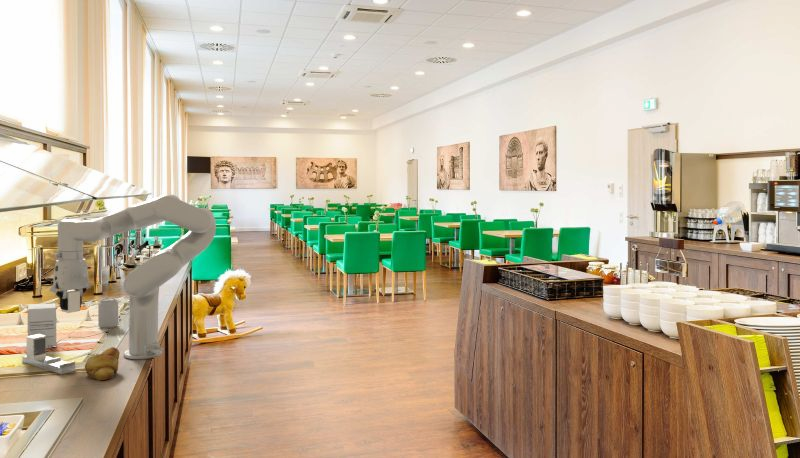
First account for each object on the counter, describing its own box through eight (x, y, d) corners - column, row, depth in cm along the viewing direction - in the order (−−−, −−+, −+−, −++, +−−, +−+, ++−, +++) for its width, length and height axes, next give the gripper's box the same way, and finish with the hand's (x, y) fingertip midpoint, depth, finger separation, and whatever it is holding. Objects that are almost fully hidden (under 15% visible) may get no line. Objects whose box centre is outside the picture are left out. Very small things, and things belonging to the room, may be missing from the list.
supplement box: (28, 344, 216) (27, 304, 215) (56, 341, 220) (56, 302, 219) (27, 350, 208) (26, 309, 207) (56, 347, 212) (56, 307, 211)
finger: (80, 311, 202) (79, 291, 201) (68, 313, 198) (68, 292, 198) (72, 309, 204) (72, 289, 204) (60, 311, 201) (60, 291, 200)
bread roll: (117, 381, 180) (117, 355, 179) (81, 384, 176) (81, 358, 176) (120, 368, 192) (120, 345, 191) (86, 371, 188) (86, 347, 188)
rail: (75, 370, 188) (75, 343, 187) (61, 374, 184) (61, 346, 184) (36, 358, 199) (36, 332, 198) (22, 362, 195) (22, 335, 194)
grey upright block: (94, 327, 242) (94, 299, 242) (109, 324, 249) (109, 296, 249) (107, 330, 240) (107, 301, 239) (122, 326, 247) (122, 298, 246)
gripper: (52, 259, 191) (52, 314, 192) (100, 254, 205) (100, 306, 206) (39, 257, 194) (39, 311, 196) (87, 252, 209) (87, 303, 210)
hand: (71, 307), depth 201 cm, fingers closed on finger, 4 cm apart
